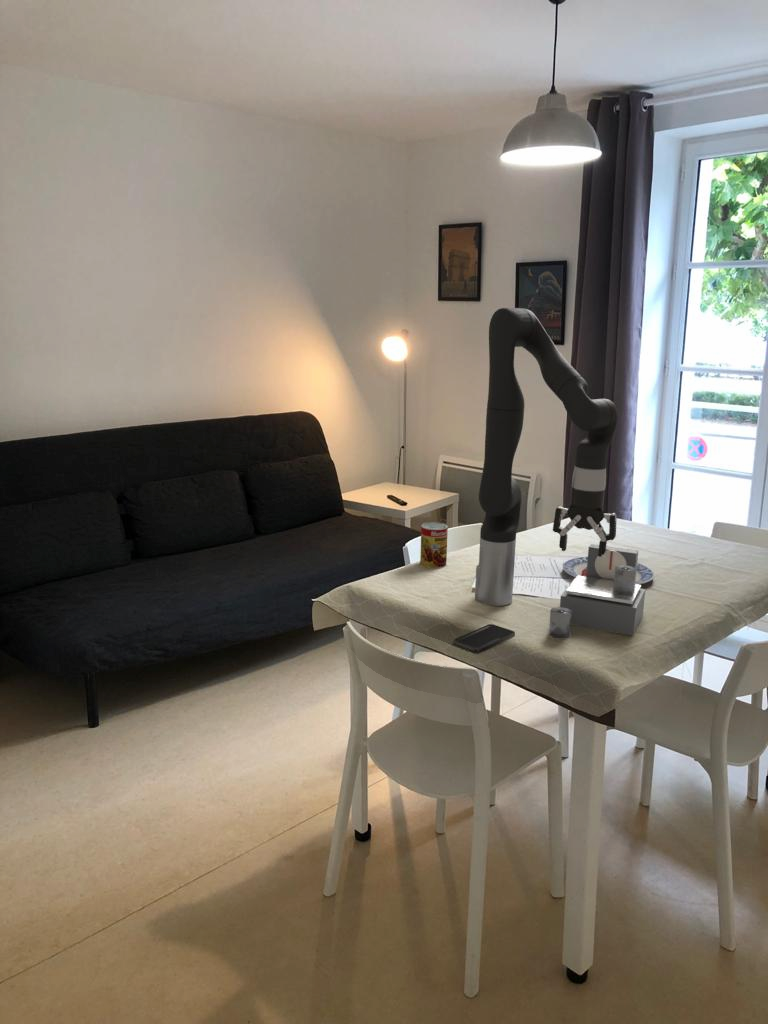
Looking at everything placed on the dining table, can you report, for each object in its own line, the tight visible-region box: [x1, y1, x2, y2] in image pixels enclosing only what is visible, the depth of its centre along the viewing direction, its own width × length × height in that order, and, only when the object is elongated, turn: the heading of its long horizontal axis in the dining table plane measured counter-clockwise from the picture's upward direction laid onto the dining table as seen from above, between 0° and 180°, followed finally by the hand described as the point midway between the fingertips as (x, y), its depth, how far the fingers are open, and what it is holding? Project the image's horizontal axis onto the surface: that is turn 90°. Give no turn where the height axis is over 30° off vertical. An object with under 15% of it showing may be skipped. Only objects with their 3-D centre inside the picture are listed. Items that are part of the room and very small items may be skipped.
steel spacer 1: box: [548, 606, 572, 640], centre depth 197 cm, size 5×5×6 cm
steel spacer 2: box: [613, 565, 636, 595], centre depth 202 cm, size 5×5×6 cm
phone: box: [453, 623, 516, 653], centre depth 194 cm, size 8×1×15 cm
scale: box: [559, 543, 646, 636], centre depth 207 cm, size 18×18×16 cm
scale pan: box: [565, 575, 642, 604], centre depth 206 cm, size 16×13×1 cm
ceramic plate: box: [562, 556, 655, 585], centre depth 240 cm, size 26×26×3 cm
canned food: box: [419, 522, 449, 569], centre depth 247 cm, size 8×8×12 cm
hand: (582, 553), depth 195 cm, fingers open, 8 cm apart
